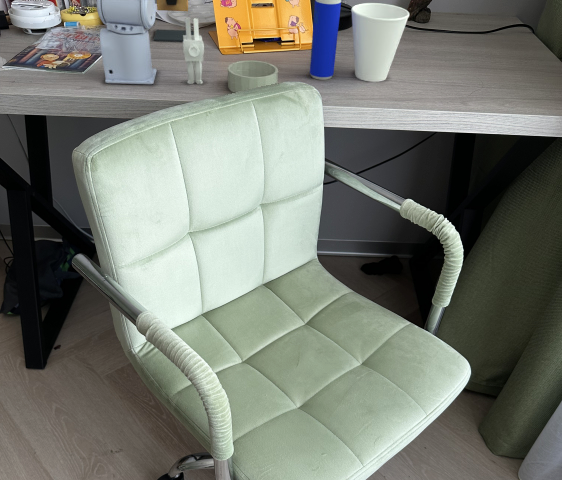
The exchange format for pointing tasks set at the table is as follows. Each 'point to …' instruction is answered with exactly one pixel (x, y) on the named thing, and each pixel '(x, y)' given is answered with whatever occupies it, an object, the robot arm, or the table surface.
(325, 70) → the beverage can
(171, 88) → the table surface
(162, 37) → the coaster
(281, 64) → the table surface
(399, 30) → the cup
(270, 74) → the tin
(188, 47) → the toy robot
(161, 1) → the tan wooden block
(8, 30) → the table surface
